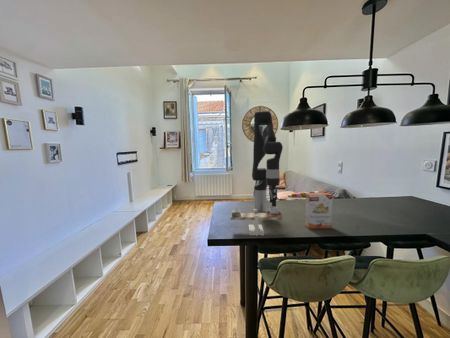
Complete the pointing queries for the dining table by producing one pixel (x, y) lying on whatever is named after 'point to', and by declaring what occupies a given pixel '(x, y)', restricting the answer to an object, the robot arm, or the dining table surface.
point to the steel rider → (273, 210)
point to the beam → (251, 216)
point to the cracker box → (318, 210)
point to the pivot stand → (256, 226)
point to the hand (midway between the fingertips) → (272, 204)
